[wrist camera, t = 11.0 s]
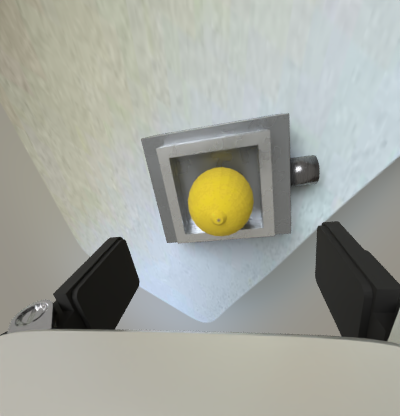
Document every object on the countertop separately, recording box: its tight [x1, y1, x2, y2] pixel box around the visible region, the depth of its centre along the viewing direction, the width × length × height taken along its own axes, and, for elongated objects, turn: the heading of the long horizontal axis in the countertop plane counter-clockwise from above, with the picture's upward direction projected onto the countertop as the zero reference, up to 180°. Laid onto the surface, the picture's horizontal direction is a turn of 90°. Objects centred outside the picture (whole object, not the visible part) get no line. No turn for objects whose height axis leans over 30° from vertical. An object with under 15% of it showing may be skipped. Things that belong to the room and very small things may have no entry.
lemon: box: [188, 167, 254, 236], centre depth 19 cm, size 6×6×8 cm
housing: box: [141, 113, 319, 243], centre depth 24 cm, size 17×12×7 cm
